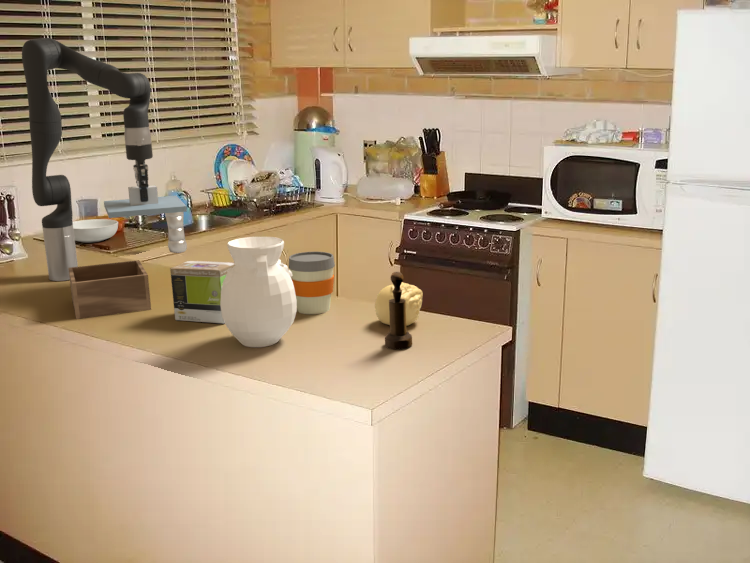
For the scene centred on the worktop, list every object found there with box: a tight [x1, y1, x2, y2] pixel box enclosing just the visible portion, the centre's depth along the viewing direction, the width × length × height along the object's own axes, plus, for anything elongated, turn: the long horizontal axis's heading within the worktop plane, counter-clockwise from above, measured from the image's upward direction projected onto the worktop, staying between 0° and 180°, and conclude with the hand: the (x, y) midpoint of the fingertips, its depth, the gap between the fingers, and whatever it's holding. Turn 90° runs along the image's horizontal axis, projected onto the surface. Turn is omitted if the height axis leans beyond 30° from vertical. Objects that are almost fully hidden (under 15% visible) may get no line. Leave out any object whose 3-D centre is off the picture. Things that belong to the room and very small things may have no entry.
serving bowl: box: [72, 218, 119, 244], centre depth 335 cm, size 21×21×7 cm
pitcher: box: [220, 236, 298, 348], centre depth 206 cm, size 19×18×25 cm
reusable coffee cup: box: [288, 251, 336, 315], centre depth 233 cm, size 13×13×15 cm
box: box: [68, 259, 152, 320], centre depth 243 cm, size 20×20×10 cm
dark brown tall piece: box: [384, 271, 413, 350], centre depth 201 cm, size 7×6×18 cm
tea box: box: [169, 260, 235, 324], centre depth 228 cm, size 15×10×15 cm, turn 71°
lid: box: [103, 184, 188, 219], centre depth 256 cm, size 22×22×7 cm
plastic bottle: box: [164, 212, 188, 254], centre depth 307 cm, size 6×7×20 cm
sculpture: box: [374, 282, 424, 327], centre depth 219 cm, size 12×12×11 cm
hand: (143, 200), depth 256 cm, fingers closed on lid, 4 cm apart
